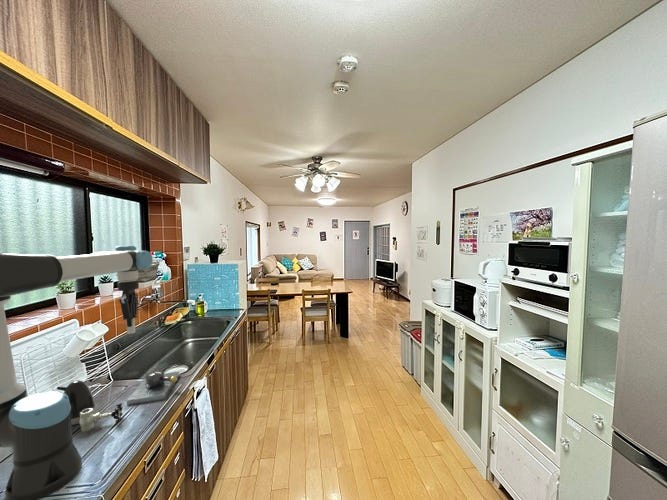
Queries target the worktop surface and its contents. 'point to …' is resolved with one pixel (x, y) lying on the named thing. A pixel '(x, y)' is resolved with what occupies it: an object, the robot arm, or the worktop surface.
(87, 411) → the valve
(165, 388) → the stand base
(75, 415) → the pump dispenser
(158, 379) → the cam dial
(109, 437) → the worktop surface
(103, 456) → the worktop surface
